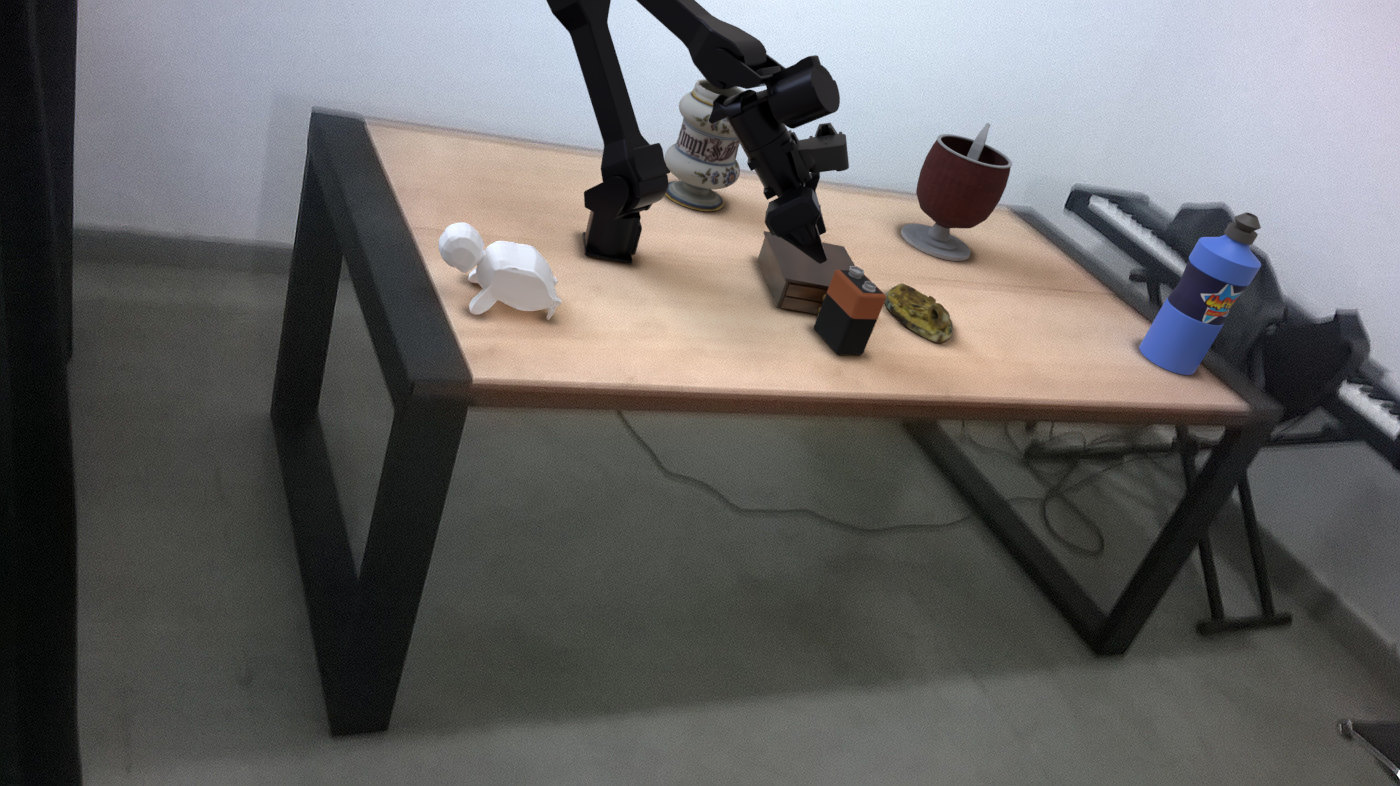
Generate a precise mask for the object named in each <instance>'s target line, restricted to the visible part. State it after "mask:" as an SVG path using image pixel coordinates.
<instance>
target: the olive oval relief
mask: <svg viewBox="0 0 1400 786" xmlns="http://www.w3.org/2000/svg"><path fill="white" fill-rule="evenodd" d="M885 295H886V299H885V302H884V305H885V306H886V308H887V310H888V311H889V312H890V313H891V314H892V315H893V316H894V317H895V318H896V319H897V320H898V321H899V322H900V323H901V324H903V325H904V326H905V327H906V328H907V329H909V330H910V331H911V332H912V333H913V332H914V333H915V334H917V335H919V336H921V337H923V338H925V339H926V340H929V341H932V342H934V343H939V344H940V343H943V342H946V341H948V340H949V339H950V338H951V336H952V335H953V331H954V329H953V328H954V326H953V321H952V319H951V315H950V312H949V311H948V310H947V309H946V308H945V307H944V305H943V304H941V303H940V302H936V301H937V299H936V298H934V297H933V296H932V295H929V296H928V295H926V294H924V293H922V292H920V291H919V290H918V289H916V288H914V287H912V286H910V285H908V284H905V283H898V284H897V285H895V286H893V287H891V288H890V289H889V290H888V291H887V292H886V294H885Z"/></svg>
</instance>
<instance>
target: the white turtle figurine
mask: <svg viewBox="0 0 1400 786" xmlns="http://www.w3.org/2000/svg"><path fill="white" fill-rule="evenodd" d="M438 252H439V254H440V256H441V258H442V260H443V262H444V263H446V265H448V266H449V267H451V268H455V269H457V270H459V271H460V272H461V273H464V274H467V273H468V272H469V274H468V278H467V281H468V282H470V283H472V284H478V285H479V286H480V287H481V290H480V291H479V292H477V294H476V295H474V297H472V299H471V300H470V302H469V304H468V306H469V312H470V314H472V315H473V316H479V315H482V314H483V313H485V312H488V311H489V310H490V309H491V308H492V306H494V305H495V304H496V303H497V302H498V301H499V302H502V303H503V304H504V305H506V306H509V307H510V308H514V309H515V310H517V311H524V312H534V311H535V312H536V311H541V310H547V314H546V320H549V321H550V319H551V318H552V316H554V314H555V312H556V309H557V308H558V307H559V306H560V305H562V299H561V298H560V297H558V294H557V290H556V288H555V287H556V286H557V284H558V283H559V282H558V281H559V280H558V278H557V277H556V276H554V274H553V271H552V268H551V266H550V264H549V262H548V261H547V260H546V258H545V257H544V256H543V255H542V254H541V252H540V251H539V250H538V249H537V248H536V247H535V246H533V245H530V244H526V243H516V242H515V241H506V240H496V241H494V242H492V243H490V244H489V245H488V246H486V247H485V242H484V240H483V237H482V236H481V234H480V232H479V231H478V230H477V229H476V228H475V227H474V226H472V225H471V224H469V223H467V222H462V221H461V222H460V221H457V222H456V223H451V224H449V225H448V226H447V227H446V228H445V229H444V230H443V232H442V233H441V235H440V237H439V239H438Z"/></svg>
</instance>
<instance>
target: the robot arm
mask: <svg viewBox="0 0 1400 786" xmlns="http://www.w3.org/2000/svg"><path fill="white" fill-rule="evenodd" d="M545 1H546V3H547V5H548V7H549V9H550V11H551V14H552V15H553V16H554V17H555V18H556V19H557V21H558V22H559V23H560V24H561V25H562V26H563V27H564V28H565V30H566V31H567V32H568V34H569V36H570V39H571V41H572V44H573V48H574V51H575V55H576V58H577V61H578V64H579V68H580V71H581V74H582V77H583V81H584V84H585V87H586V90H587V93H588V97H589V100H590V103H591V106H592V109H593V113H594V116H595V119H596V123H597V126H598V130H599V133H600V135H601V139H602V143H603V151H602V157H601V164H600V173H601V180H602V181H601V182H600V183H598V184H596V185H594V186H592V187H590V188H588V189H586V190H584V192H583V201H584V208H585V209H587V210H588V211H590V212H589V216H588V220H587V225H586V229H585V231H583V232H582V234H581V237H582V244H583V246H582V247H583V254H584V256H586V257H590V258H596V259H602V260H606V261H612V262H617V263H623V264H630V265H631V264H633V260H634V259H633V256H634V255H636V253H637V249H638V246H639V242H640V239H641V234H642V231H643V227H642V223H641V219H642V217H641V212H643V211H646V212H647V211H649V210H650V209H651V207H652V206H653V204H656V203H658V202H660V201H661V200H662V199H663V198H664V197H665V196H666V195H665V193H666V190H667V189H668V183H669V182H670V181H669V176H668V174H671V171H670V170H669V169H668V167H667V165H666V163H665V154H664V150H663V149H664V148H663V147H662V145H661V143H660V142H656V143H652V144H650V143H649V141H648V140H647V139H646V138H645V136H643V135H642V133H641V130H640V126H639V124H638V121H637V117H636V114H635V111H634V110H635V109H634V107H633V104H632V101H631V98H630V93H629V91H628V87H627V83H626V81H625V78H624V74H623V71H622V67H621V65H620V61H619V57H618V54H617V51H616V48H615V44H614V41H613V38H612V34H611V31H610V27H609V23H608V20H609V14H610V8H611V2H612V0H545ZM635 1H636V2H637V3H638V4H639V5H641V6H642V7H643V8H644V9H645V10H646V12H648V13H649V14H651V16H653V17H654V18H655V19H656V20H657V21H658V22H660V23H661V25H663V26H664V27H665V28H666V29H667V30H668V31H670V33H672V35H674V36H675V37H676V38H677V39H678V40H679V41H680V42H682V44H683V45H684V47H686V49H687V50H688V53H689V56H690V58H691V61H692V63H693V65H694V66H695V67H696V69H697V70H698V72H699V73H700V74H701V75H702V76H703V78H704V79H706V80H707V81H708V82H709V83H710V84H711V85H712V86H713V87H715V88H717V89H730V88H736V87H739V88H741V89H745V90H744V91H743V92H741V93H739V94H737V95H734V96H725V95H723V94H719V95H718V96H717V98H716V99H715V100H714V101H713V109H712V112H711V115H710V118H709V122H710V123H711V124H713V123H716V122H718V121H720V120H723V119H725V118H726V119H727V121H728V123H729V124H730V126H731V128H732V130H733V132H734V134H735V135H736V137H737V139H738V141H739V143H740V144H739V145H740V146H741V148H742V150H743V152H744V153H745V155H746V157H747V162H746V165H747V167H748V168H749V170H750V171H751V172H752V171H754V172H755V173H756V175H757V177H758V179H759V181H760V183H761V185H762V186H763V191H762V193H763V195H764V197H765V199H766V201H768V200H770V199H773V198H775V197H776V198H775V199H773V200H771V201H769V202H768V204H767V207H766V210H765V217H764V224H765V226H766V227H767V229H768V232H770V233H771V235H772V236H774V235H776V236H777V237H781V238H782V239H784V240H785V241H787V242H788V243H790V244H792V245H793V246H795V247H796V248H798V249H799V250H801V251H802V252H803V253H805V254H806V255H808V256H809V257H810V258H812V259H813V260H815V261H816V262H817V263H819V264H821V263H823V262H825V261H827V256H826V253H825V250H824V247H823V244H822V242H823V241H822V237H821V235H824V234H826V233H827V228H826V224H825V221H824V217H823V213H822V210H821V207H822V206H821V204H820V202H819V199H818V194H817V187H818V185H819V182H820V179H821V173H825V172H833V171H836V172H844V171H846V170H849V168H850V163H849V153H848V152H849V151H848V143H847V142H848V141H847V134H845V133H843V131H839V132H838V131H837V130H836V129H835V127H834V126H833V124H832V123H831V122H825V123H819V124H818V125H817V129H816V130H815V134H814V136H813V135H809V138H804V139H799V138H798V135H797V134H796V132H795V131H792V130H791V129H797V128H799V127H801V126H804V125H807V124H810V123H812V122H815V121H817V120H820V119H822V118H825V117H827V116H830V115H832V114H835V113H836V112H837V111H839V108H840V104H841V96H840V90H839V86H838V84H837V83H838V82H837V81H836V80H835V79H834V78H833V76H832V75H831V73H830V72H829V70H828V69H827V68H826V67H825V66H824V65H823V64H822V63H821V61H820V57H819V55H817V54H814V55H808V56H806V57H803V58H801V59H800V60H799V61H797V62H796V63H795V64H792V65H790V66H787V67H785V66H784V65H782V64H781V63H780V62H778V61H777V60H776V59H774V58H773V57H772V56H770V55H769V54H768V53H767V49H766V47H765V45H764V44H763V42H761V40H760V39H758V38H757V37H755V36H753V35H752V34H750V33H749V32H746V31H745V30H743V29H742V28H740V27H738V26H736V25H734V24H732V23H728V22H727V21H724V20H721V19H719V18H717V17H716V16H714V15H712V14H711V13H710V12H709V11H708V10H706V8H705V7H703V6H702V5H701V4H700V3H699V2H697V0H635ZM759 87H760V88H761V87H766V88H765V89H764V90H760V91H756V90H754V89H755V88H759ZM788 128H789V130H788Z"/></svg>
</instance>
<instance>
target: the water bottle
mask: <svg viewBox="0 0 1400 786" xmlns="http://www.w3.org/2000/svg"><path fill="white" fill-rule="evenodd" d="M1233 218H1234V222H1229V223H1228V225H1227V226H1226V228H1225V230H1224V231H1223V233H1224V234H1223V235H1221V236H1202V237H1199V239H1198V240H1197V242H1196V244H1195V245H1194V247H1193V249H1192V250H1191V252H1190V254H1189V256H1188V260H1187V263H1186V266H1185V268H1184V270H1183V272H1182V275H1181V277H1180V279H1179V282H1178V283H1177V285H1175V287H1174V288H1173V290H1172V291H1171V292H1170V294H1169V295H1168V296H1167V297H1166V299H1165V301H1164V302H1163V304H1162V305H1161V308H1160V309H1159V311H1158V313H1157V314H1156V316H1155V318H1154V320H1153V321H1152V323H1151V324H1150V327H1149V328H1148V330H1147V332H1146V333H1145V335H1144V337H1143V338H1142V340H1141V342H1140V344H1139V346H1138V349H1139V352H1140V353H1141V354H1142V356H1144V357H1145V358H1146V359H1147V360H1148V361H1150V362H1151V363H1153V364H1154V365H1155V366H1158V367H1160V368H1162V369H1164V370H1165V371H1169V372H1171V373H1175V374H1177V375H1182V376H1190V375H1191V376H1192V375H1194V374H1195V373H1196V372H1197V370H1198V368H1199V367H1200V365H1201V363H1202V362H1203V360H1204V358H1205V356H1206V355H1207V353H1208V352H1209V350H1210V348H1211V347H1212V345H1213V344H1214V342H1215V340H1216V339H1217V337H1218V335H1219V334H1220V332H1221V330H1222V329H1223V327H1224V325H1225V322H1226V320H1227V318H1228V315H1229V313H1230V310H1231V308H1232V306H1233V305H1234V304H1235V302H1236V301H1237V300H1238V299H1239V297H1240V296H1241V295H1242V293H1243V292H1244V291H1245V290H1246V289H1247V287H1248V286H1250V285H1251V283H1252V282H1253V280H1254V279H1255V277H1256V275H1257V273H1258V272H1259V270H1260V268H1261V267H1262V263H1261V261H1260V260H1259V259H1258V257H1257V256H1256V255H1255V254H1254V253H1253V252H1252V249H1251V247H1250V246H1252V245H1253V244H1254V242H1255V241H1256V240H1257V238H1258V235H1259V234H1258V232H1256V231H1257V230H1260V229H1261V228H1262V227H1261V224H1260V220H1259V217H1258V216H1257V215H1255V214H1254V213H1251V212H1243V213H1240V214H1238V215H1235V216H1234V217H1233Z"/></svg>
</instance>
